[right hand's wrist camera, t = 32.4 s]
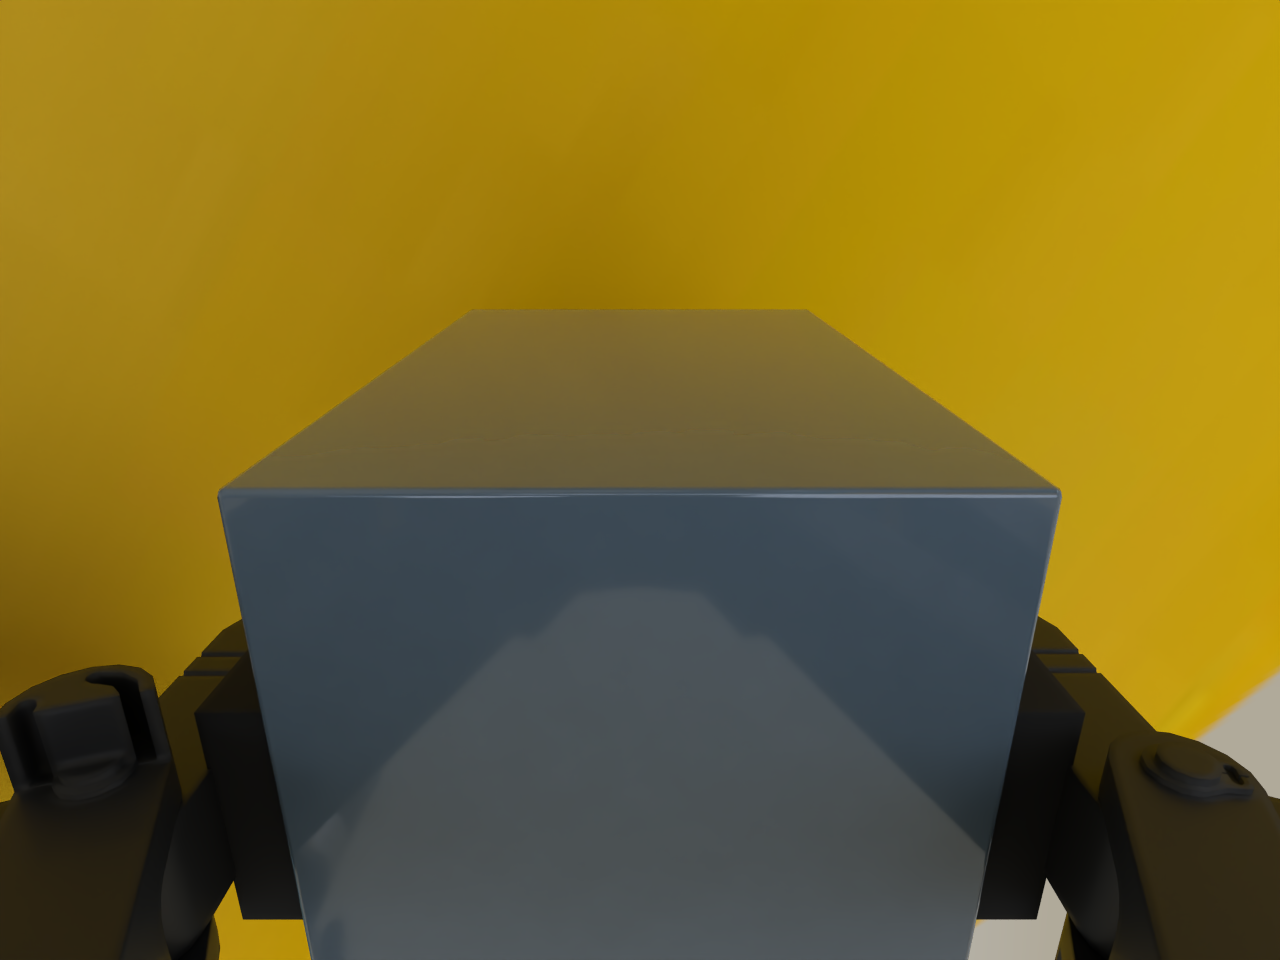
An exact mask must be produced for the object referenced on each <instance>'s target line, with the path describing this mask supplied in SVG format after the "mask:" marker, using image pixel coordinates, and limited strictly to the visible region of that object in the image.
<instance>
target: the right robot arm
mask: <svg viewBox="0 0 1280 960" xmlns="http://www.w3.org/2000/svg"><path fill="white" fill-rule="evenodd" d="M0 751H1V754H2V757H3V760H4V763H5V766H6V769H7V772H8V774H9V777H10V780H11V783H12V786H13V789H14V794H13V796H12V798H11V800H8V801H5V802H0V960H219V953H220V943H219V936H218V930H217V926H216V922H215V918H214V913H215V911H216V910H217V908H218V906H219V904H220V903H221V901H222V899H223V898H224V896H225V894H226V893H227V891H228V889H229V887H230V886H231V884H232V882H233V881H234V884H235V888H236V892H237V896H238V900H239V905H240V909H241V913H242V917H243V919H303V916H302V911H301V906H300V901H299V896H298V892H297V887H296V882H295V877H294V872H293V867H292V862H291V857H290V852H289V847H288V842H287V837H286V832H285V828H284V823H283V818H282V813H281V808H280V803H279V798H278V793H277V788H276V783H275V778H274V773H273V768H272V764H271V759H270V754H269V749H268V744H267V739H266V734H265V729H264V724H263V719H262V714H261V709H260V704H259V699H258V695H257V690H256V685H255V680H254V675H253V670H252V665H251V660H250V655H249V650H248V645H247V640H246V635H245V631H244V626H243V621H242V619H241V620H239V621H238V622H236V623H234V624H232V625H231V626H229V627H227V628H226V629H224V630H223V631H222V632H221V633H220V634H219V635H218V636H217V637H216V638H215V639H214V640H213V641H212V642H211V643H210V644H209V645H208V646H207V647H206V648H205V650H204V651H203V652H202V656H201V657H197V658H196V659H195V660H194V661H193V662H192V663H191V664H190V665H189V666H188V667H187V668H186V670H185V671H184V675H183V676H179V677H178V678H177V679H176V680H175V681H174V682H173V683H172V684H171V685H170V686H169V687H168V688H167V690H166V691H165V692H164V693H163V694H162V695H161V696H160V697H159V698H158V695H157V691H156V687H155V683H154V679H153V676H152V675H150V674H149V673H147V672H146V671H144V670H143V669H142V668H139V667H132V666H125V665H110V666H99V667H90V668H86V669H83V670H79V671H75V672H71V673H67V674H63V675H60V676H58V677H55V678H53V679H50V680H48V681H45V682H43V683H41V684H38V685H36V686H33V687H31V688H29V689H28V690H26V691H25V692H23V693H21V694H20V695H18V696H17V697H15V698H13V699H12V700H10V701H9V702H7V703H6V704H5V705H4V706H3V707H2V708H1V709H0ZM1046 878H1047V879H1048V881H1049V883H1050V884H1051V886H1052V888H1053V889H1054V891H1055V893H1056V894H1057V896H1058V898H1059V900H1060V901H1061V903H1062V905H1063V906H1064V908H1065V910H1066V911H1067V914H1066V919H1065V922H1064V926H1063V930H1062V934H1061V938H1060V942H1059V946H1058V950H1057V954H1056V957H1055V960H1280V799H1278V798H1274V797H1270V796H1268V795H1267V793H1266V791H1265V790H1264V788H1263V787H1262V786H1261V784H1260V783H1259V782H1258V781H1257V780H1256V778H1255V777H1254V776H1253V775H1252V773H1251V772H1250V771H1248V770H1247V769H1245V768H1244V767H1243V766H1241V765H1240V764H1239V763H1237V762H1236V761H1234V760H1233V759H1232V758H1230V757H1229V756H1228V755H1226V754H1224V753H1222V752H1220V751H1217V750H1215V749H1213V748H1211V747H1209V746H1207V745H1205V744H1203V743H1201V742H1199V741H1195V740H1192V739H1189V738H1185V737H1182V736H1178V735H1175V734H1172V733H1166V732H1157V731H1156V730H1155V729H1154V728H1153V727H1152V726H1151V725H1150V724H1149V723H1148V722H1147V721H1146V720H1145V719H1144V718H1143V717H1142V716H1141V715H1140V714H1139V713H1138V712H1137V711H1136V709H1135V708H1134V707H1133V706H1132V705H1131V704H1130V703H1129V702H1128V701H1127V700H1126V699H1125V698H1124V697H1123V696H1122V695H1121V694H1120V693H1119V692H1118V691H1117V690H1116V689H1115V688H1114V686H1113V685H1112V684H1111V683H1110V682H1109V681H1108V680H1107V679H1106V678H1105V677H1104V676H1103V675H1102V674H1101V673H1097V672H1096V668H1095V667H1094V666H1093V665H1092V663H1091V662H1090V661H1089V660H1088V659H1087V658H1086V657H1085V656H1084V655H1083V654H1079V653H1078V649H1077V648H1076V647H1075V646H1074V645H1073V644H1072V643H1071V641H1070V640H1069V639H1068V638H1067V637H1066V636H1065V635H1064V634H1063V633H1062V632H1061V631H1060V630H1059V629H1058V628H1057V627H1055V626H1054V625H1052V624H1050V623H1049V622H1047V621H1045V620H1043V619H1042V618H1040V617H1037V622H1036V627H1035V632H1034V637H1033V642H1032V647H1031V652H1030V657H1029V662H1028V666H1027V671H1026V676H1025V681H1024V686H1023V691H1022V696H1021V701H1020V706H1019V711H1018V716H1017V721H1016V726H1015V731H1014V735H1013V740H1012V745H1011V750H1010V755H1009V760H1008V765H1007V770H1006V775H1005V780H1004V785H1003V790H1002V795H1001V800H1000V804H999V809H998V814H997V819H996V824H995V829H994V834H993V839H992V844H991V849H990V854H989V859H988V864H987V869H986V874H985V878H984V883H983V888H982V893H981V898H980V903H979V908H978V913H977V918H976V919H1037V915H1038V910H1039V906H1040V902H1041V898H1042V894H1043V889H1044V885H1045V881H1046Z"/></svg>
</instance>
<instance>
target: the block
mask: <svg viewBox="0 0 1280 960" xmlns="http://www.w3.org/2000/svg"><path fill="white" fill-rule="evenodd" d="M217 498H218V502H219V507H220V512H221V517H222V522H223V527H224V532H225V537H226V542H227V547H228V552H229V557H230V562H231V567H232V571H233V576H234V581H235V586H236V591H237V596H238V601H239V606H240V611H241V616H242V621H243V626H244V631H245V635H246V640H247V645H248V650H249V655H250V660H251V665H252V670H253V675H254V680H255V685H256V690H257V695H258V699H259V704H260V709H261V714H262V719H263V724H264V729H265V734H266V739H267V744H268V749H269V754H270V759H271V764H272V768H273V773H274V778H275V783H276V788H277V793H278V798H279V803H280V808H281V813H282V818H283V823H284V828H285V832H286V837H287V842H288V847H289V852H290V857H291V862H292V867H293V872H294V877H295V882H296V887H297V892H298V896H299V901H300V906H301V911H302V916H303V921H304V926H305V931H306V936H307V941H308V946H309V951H310V956H311V960H968V957H969V952H970V947H971V943H972V938H973V933H974V928H975V923H976V918H977V913H978V908H979V903H980V898H981V893H982V888H983V883H984V878H985V874H986V869H987V864H988V859H989V854H990V849H991V844H992V839H993V834H994V829H995V824H996V819H997V814H998V809H999V804H1000V800H1001V795H1002V790H1003V785H1004V780H1005V775H1006V770H1007V765H1008V760H1009V755H1010V750H1011V745H1012V740H1013V735H1014V731H1015V726H1016V721H1017V716H1018V711H1019V706H1020V701H1021V696H1022V691H1023V686H1024V681H1025V676H1026V671H1027V666H1028V662H1029V657H1030V652H1031V647H1032V642H1033V637H1034V632H1035V627H1036V622H1037V617H1038V612H1039V607H1040V602H1041V597H1042V593H1043V588H1044V583H1045V578H1046V573H1047V568H1048V563H1049V558H1050V553H1051V548H1052V543H1053V538H1054V533H1055V528H1056V524H1057V519H1058V514H1059V509H1060V504H1061V499H1062V495H1061V491H1060V489H1059V488H1058V487H1057V486H1055V485H1054V484H1052V483H1051V482H1049V481H1048V480H1047V479H1045V478H1044V477H1042V476H1041V475H1040V474H1038V473H1037V472H1035V471H1034V470H1033V469H1031V468H1030V467H1028V466H1027V465H1026V464H1024V463H1023V462H1021V461H1020V460H1019V459H1017V458H1016V457H1014V456H1013V455H1011V454H1010V453H1009V452H1007V451H1006V450H1004V449H1003V448H1002V447H1000V446H999V445H997V444H996V443H995V442H993V441H992V440H990V439H989V438H988V437H986V436H985V435H983V434H982V433H980V432H979V431H978V430H976V429H975V428H973V427H972V426H971V425H969V424H968V423H966V422H965V421H964V420H962V419H961V418H959V417H958V416H957V415H955V414H954V413H952V412H951V411H950V410H948V409H947V408H945V407H944V406H942V405H941V404H940V403H938V402H937V401H935V400H934V399H933V398H931V397H930V396H928V395H927V394H926V393H924V392H923V391H921V390H920V389H919V388H917V387H916V386H914V385H913V384H911V383H910V382H909V381H907V380H906V379H904V378H903V377H902V376H900V375H899V374H897V373H896V372H895V371H893V370H892V369H890V368H889V367H888V366H886V365H885V364H883V363H882V362H880V361H879V360H878V359H876V358H875V357H873V356H872V355H871V354H869V353H868V352H866V351H865V350H864V349H862V348H861V347H859V346H858V345H857V344H855V343H854V342H852V341H851V340H850V339H848V338H847V337H845V336H844V335H842V334H841V333H840V332H838V331H837V330H835V329H834V328H833V327H831V326H830V325H828V324H827V323H826V322H824V321H823V320H821V319H820V318H819V317H817V316H816V315H814V314H813V313H811V312H810V311H808V310H471V311H469V312H468V313H466V314H465V315H463V316H462V317H461V318H459V319H458V320H456V321H455V322H454V323H452V324H451V325H449V326H448V327H447V328H445V329H444V330H442V331H441V332H440V333H438V334H437V335H435V336H434V337H433V338H431V339H430V340H428V341H427V342H425V343H424V344H423V345H421V346H420V347H418V348H417V349H416V350H414V351H413V352H411V353H410V354H409V355H407V356H406V357H404V358H403V359H402V360H400V361H399V362H397V363H396V364H395V365H393V366H392V367H390V368H389V369H388V370H386V371H385V372H383V373H382V374H380V375H379V376H378V377H376V378H375V379H373V380H372V381H371V382H369V383H368V384H366V385H365V386H364V387H362V388H361V389H359V390H358V391H357V392H355V393H354V394H352V395H351V396H350V397H348V398H347V399H345V400H344V401H342V402H341V403H340V404H338V405H337V406H335V407H334V408H333V409H331V410H330V411H328V412H327V413H326V414H324V415H323V416H321V417H320V418H319V419H317V420H316V421H314V422H313V423H312V424H310V425H309V426H307V427H306V428H305V429H303V430H302V431H300V432H299V433H297V434H296V435H295V436H293V437H292V438H290V439H289V440H288V441H286V442H285V443H283V444H282V445H281V446H279V447H278V448H276V449H275V450H274V451H272V452H271V453H269V454H268V455H267V456H265V457H264V458H262V459H261V460H259V461H258V462H257V463H255V464H254V465H252V466H251V467H250V468H248V469H247V470H245V471H244V472H243V473H241V474H240V475H238V476H237V477H236V478H234V479H233V480H231V481H230V482H229V483H227V484H226V485H224V486H223V487H222V488H220V489H219V491H218V497H217Z"/></svg>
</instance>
